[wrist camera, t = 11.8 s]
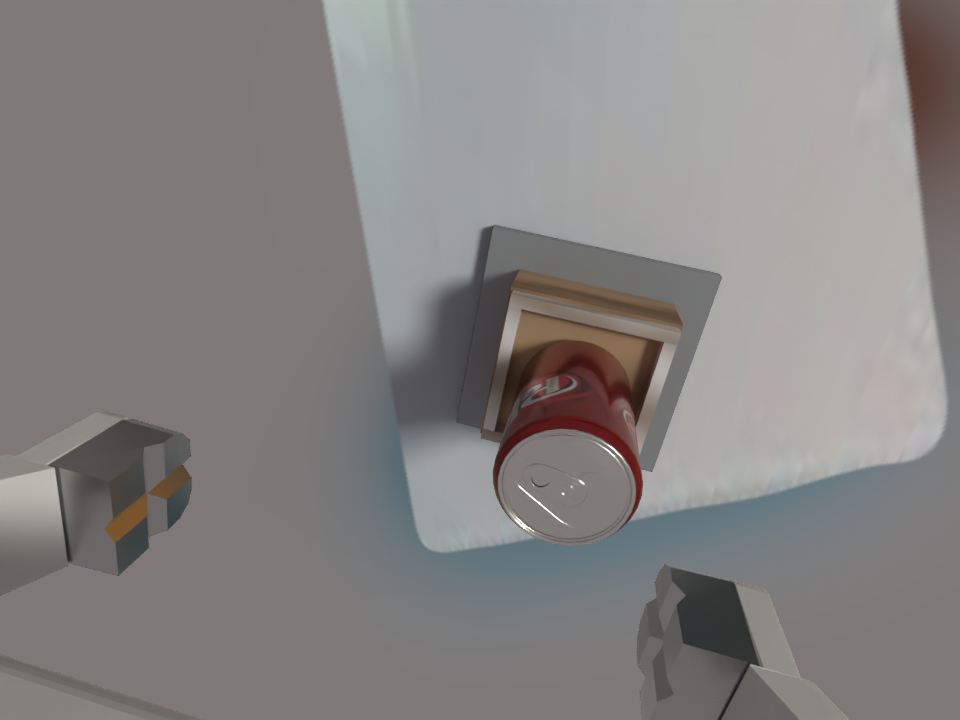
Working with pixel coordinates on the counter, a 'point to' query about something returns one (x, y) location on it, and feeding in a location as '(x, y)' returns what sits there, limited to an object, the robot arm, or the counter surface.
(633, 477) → the soda can
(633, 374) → the wooden tray
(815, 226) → the counter surface
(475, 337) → the plate
